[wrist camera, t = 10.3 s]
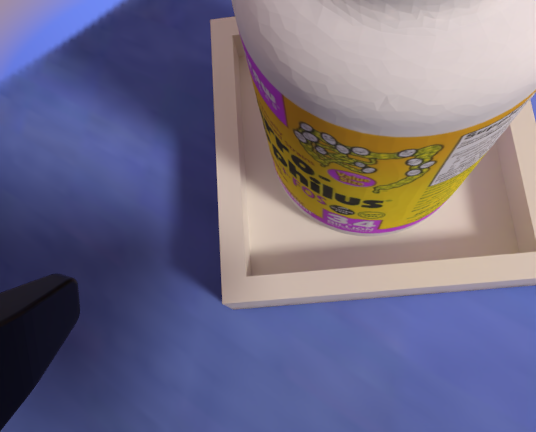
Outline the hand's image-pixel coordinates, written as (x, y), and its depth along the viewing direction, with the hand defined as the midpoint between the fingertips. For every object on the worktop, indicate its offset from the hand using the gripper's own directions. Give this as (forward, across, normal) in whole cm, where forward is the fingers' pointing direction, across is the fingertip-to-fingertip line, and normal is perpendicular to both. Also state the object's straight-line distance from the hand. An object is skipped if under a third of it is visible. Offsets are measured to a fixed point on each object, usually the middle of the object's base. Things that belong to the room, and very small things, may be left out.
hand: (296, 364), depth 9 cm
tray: (+11, 0, 0) cm, 11 cm away
